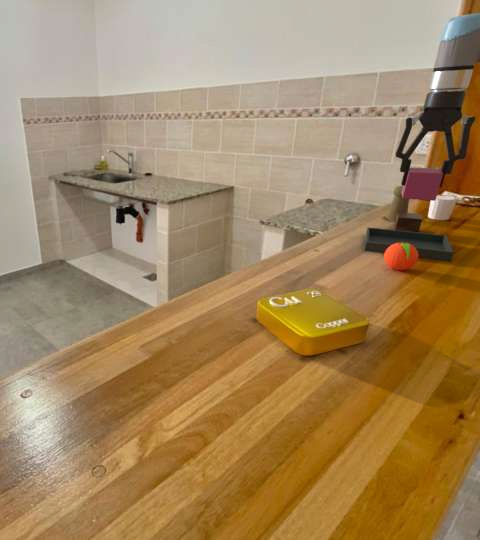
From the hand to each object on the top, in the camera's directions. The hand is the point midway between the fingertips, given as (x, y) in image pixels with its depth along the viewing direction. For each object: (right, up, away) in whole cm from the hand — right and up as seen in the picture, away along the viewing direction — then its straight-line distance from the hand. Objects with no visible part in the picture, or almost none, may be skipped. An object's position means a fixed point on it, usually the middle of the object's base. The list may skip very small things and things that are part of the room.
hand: (420, 185), depth 102 cm
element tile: (-43, -34, -27) cm, 62 cm away
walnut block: (+10, -10, +19) cm, 24 cm away
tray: (+1, -16, +7) cm, 18 cm away
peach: (-10, -23, -5) cm, 25 cm away
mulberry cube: (0, -3, +1) cm, 3 cm away
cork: (+16, -5, +31) cm, 35 cm away
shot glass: (+29, -5, +29) cm, 41 cm away
